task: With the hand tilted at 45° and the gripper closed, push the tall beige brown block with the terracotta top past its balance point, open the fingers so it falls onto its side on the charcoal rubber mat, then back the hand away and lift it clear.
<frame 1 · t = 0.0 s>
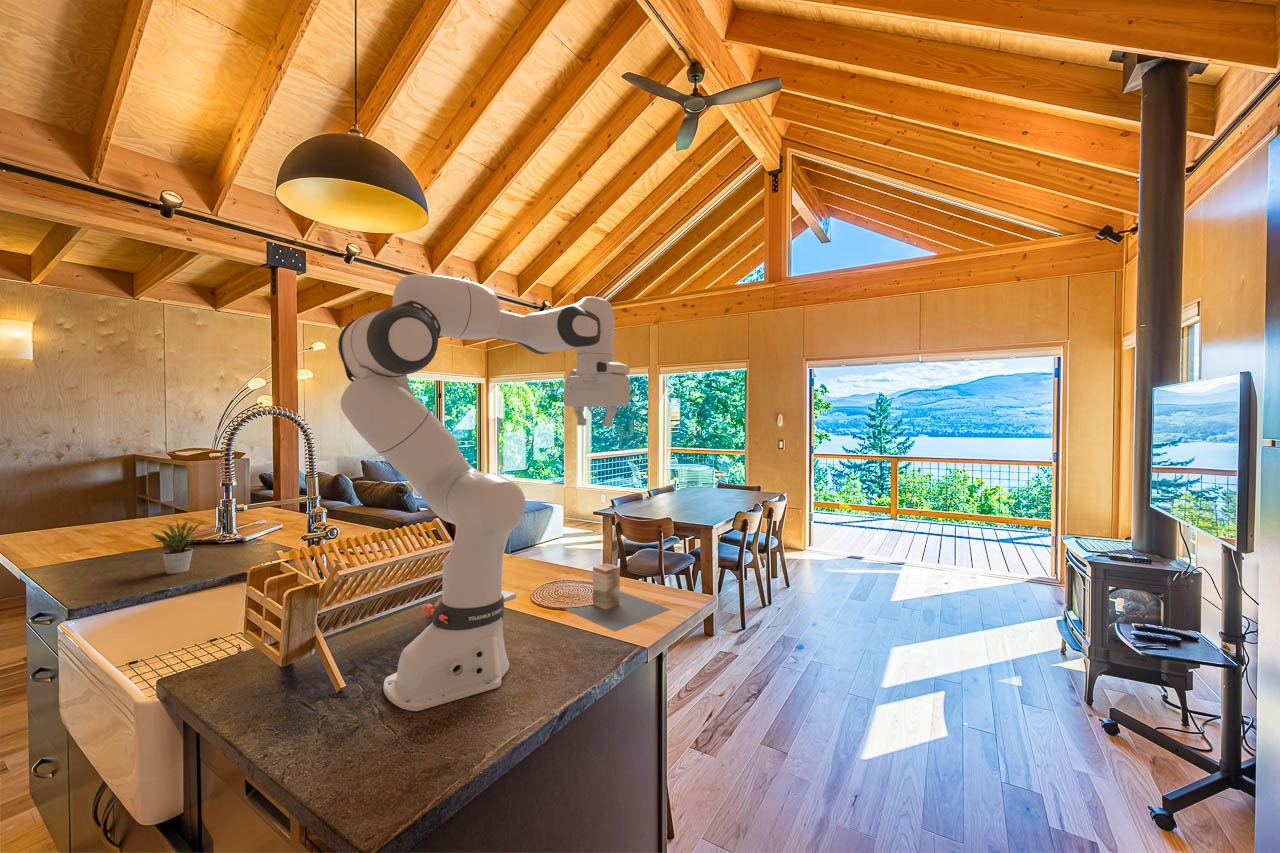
hand: (594, 426, 121), 48 cm above the worktop, tool pointing down, fingers open, 8 cm apart
house plant: (182, 570, 160), on the worktop
rubber mat: (617, 611, 132), on the worktop
beige brown block: (605, 604, 135), point 1 cm above the worktop, touching rubber mat
hard drive: (488, 603, 138), on the worktop
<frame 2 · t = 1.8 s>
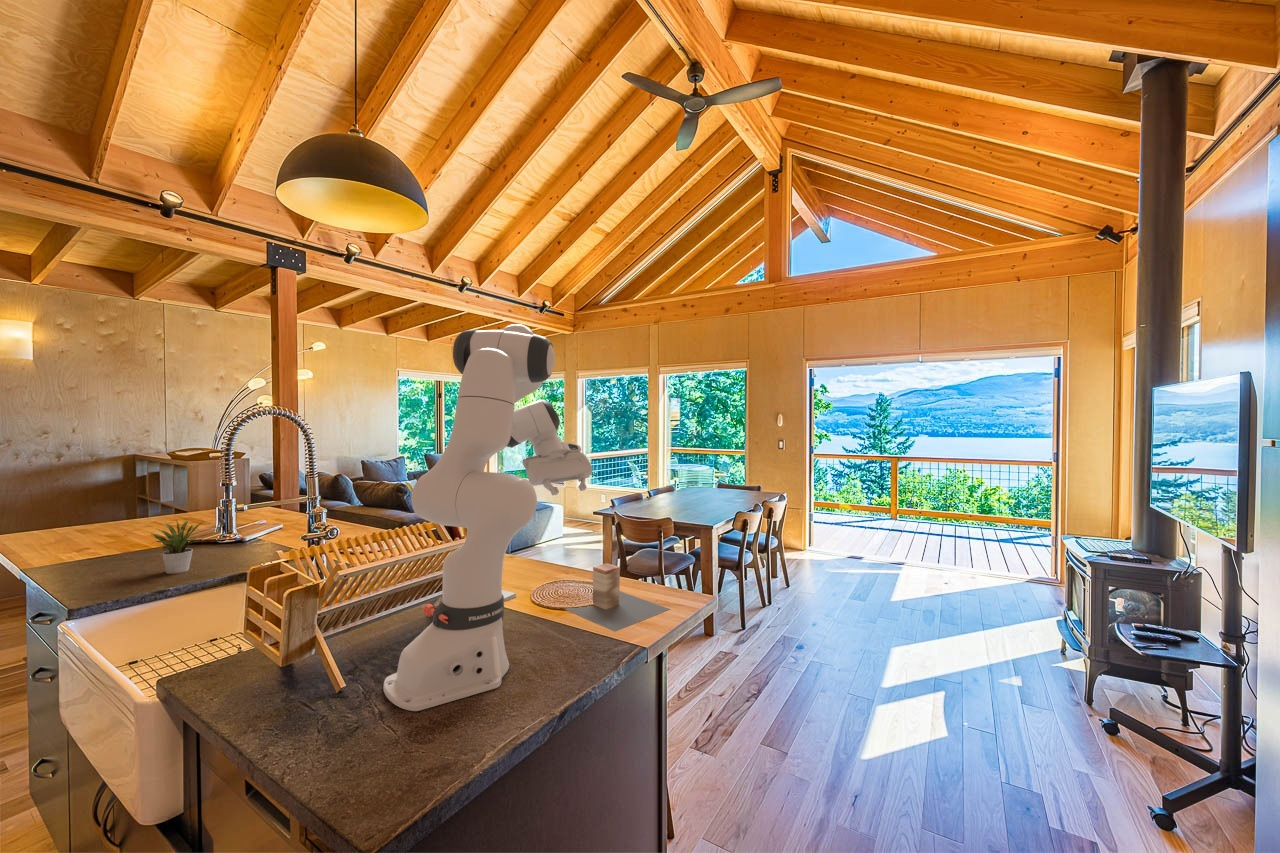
hand: (570, 491, 147), 29 cm above the worktop, tool tilted 45°, fingers open, 8 cm apart
nothing on the worktop moved.
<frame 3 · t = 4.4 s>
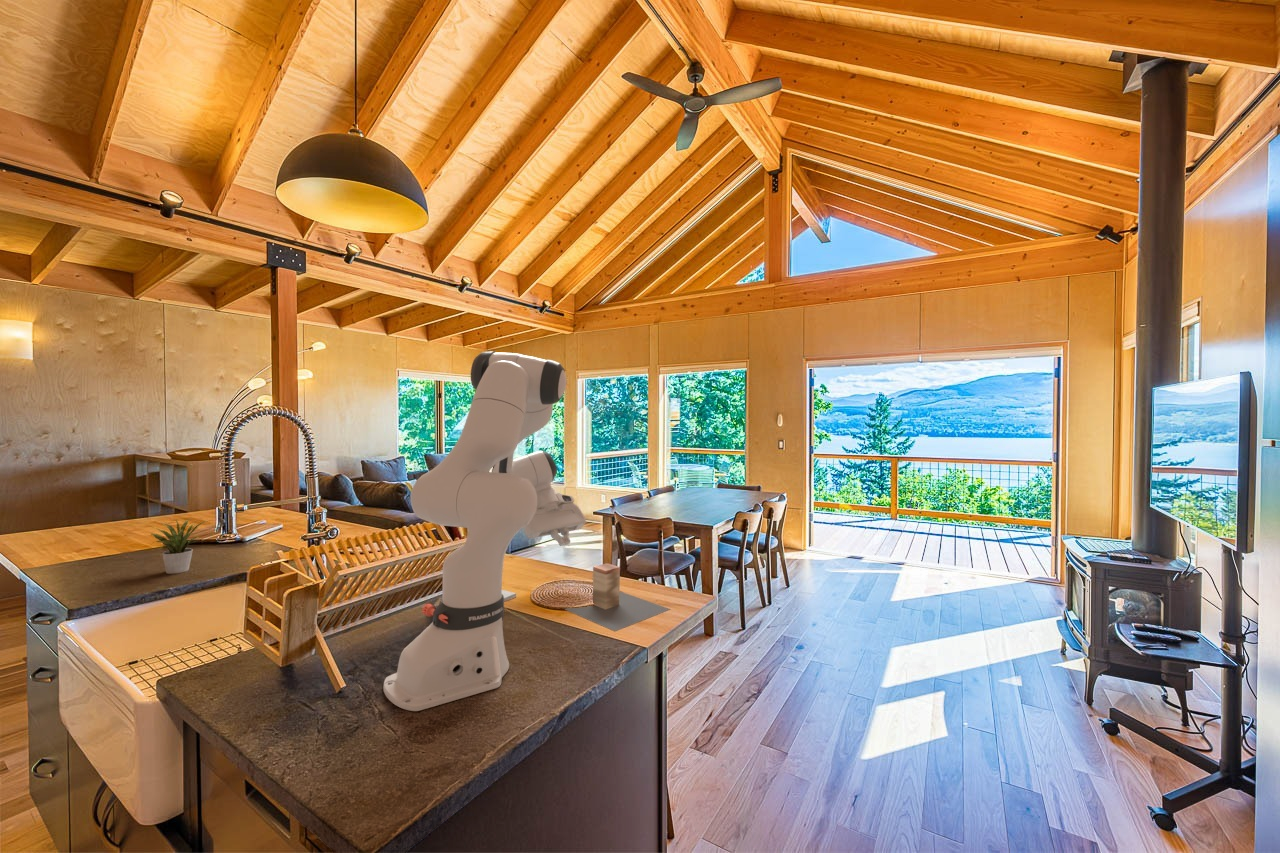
hand: (565, 544, 147), 14 cm above the worktop, tool tilted 45°, fingers closed
nothing on the worktop moved.
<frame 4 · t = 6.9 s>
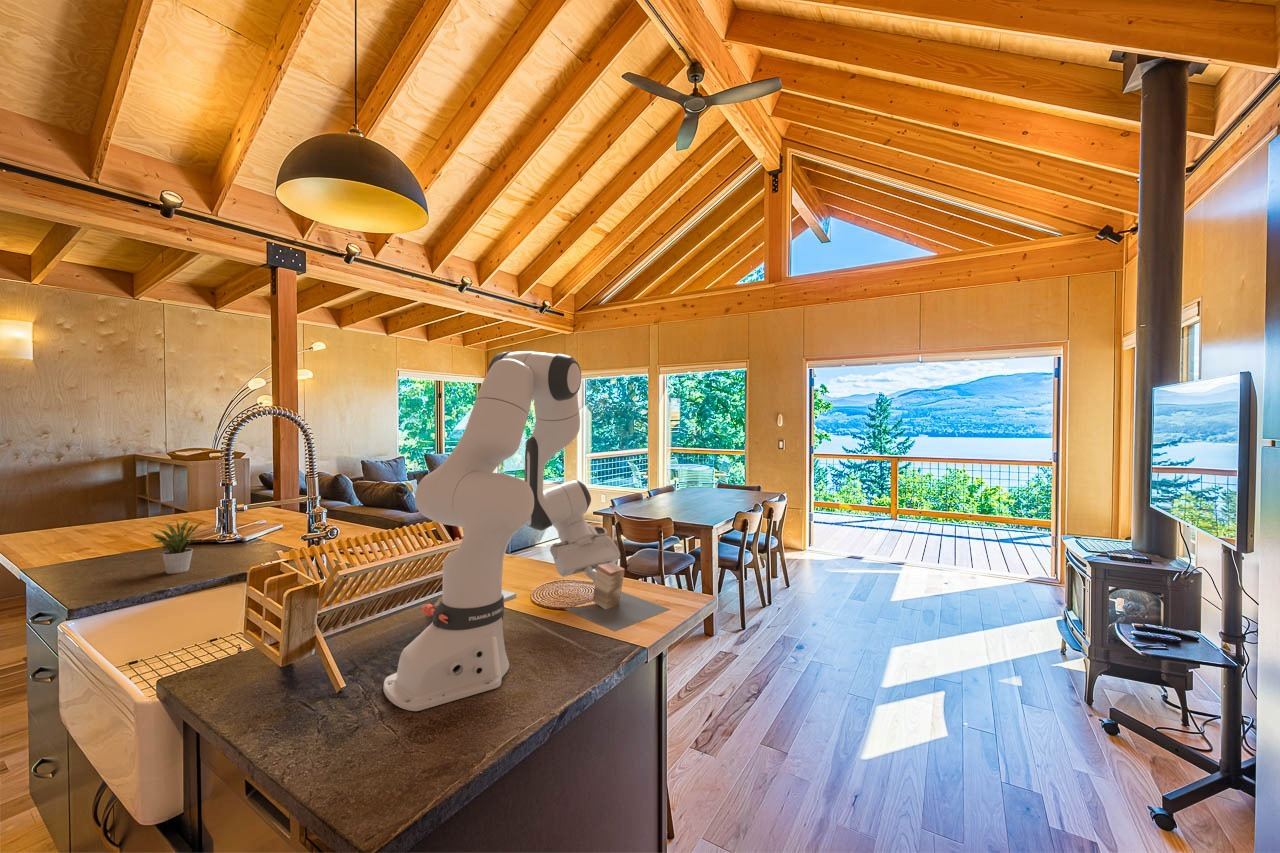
hand: (600, 581, 136), 6 cm above the worktop, tool tilted 45°, fingers closed, pressing on beige brown block
beige brown block: (606, 602, 135), point 1 cm above the worktop, tilted 10°, touching gripper, rubber mat
everything else where it was.
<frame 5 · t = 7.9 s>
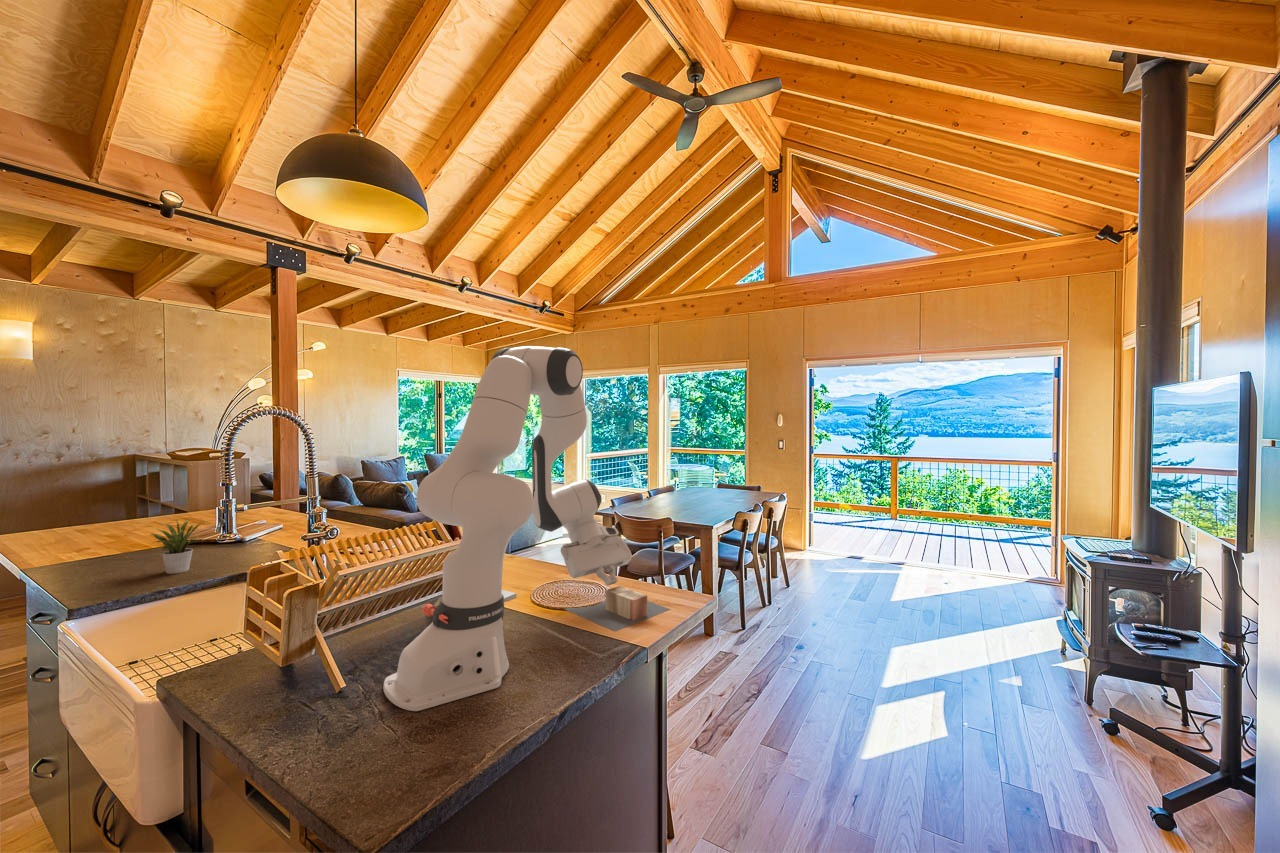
hand: (612, 583, 133), 7 cm above the worktop, tool tilted 45°, fingers closed
beige brown block: (612, 597, 133), point 3 cm above the worktop, tilted 90°, touching rubber mat
everything else where it was.
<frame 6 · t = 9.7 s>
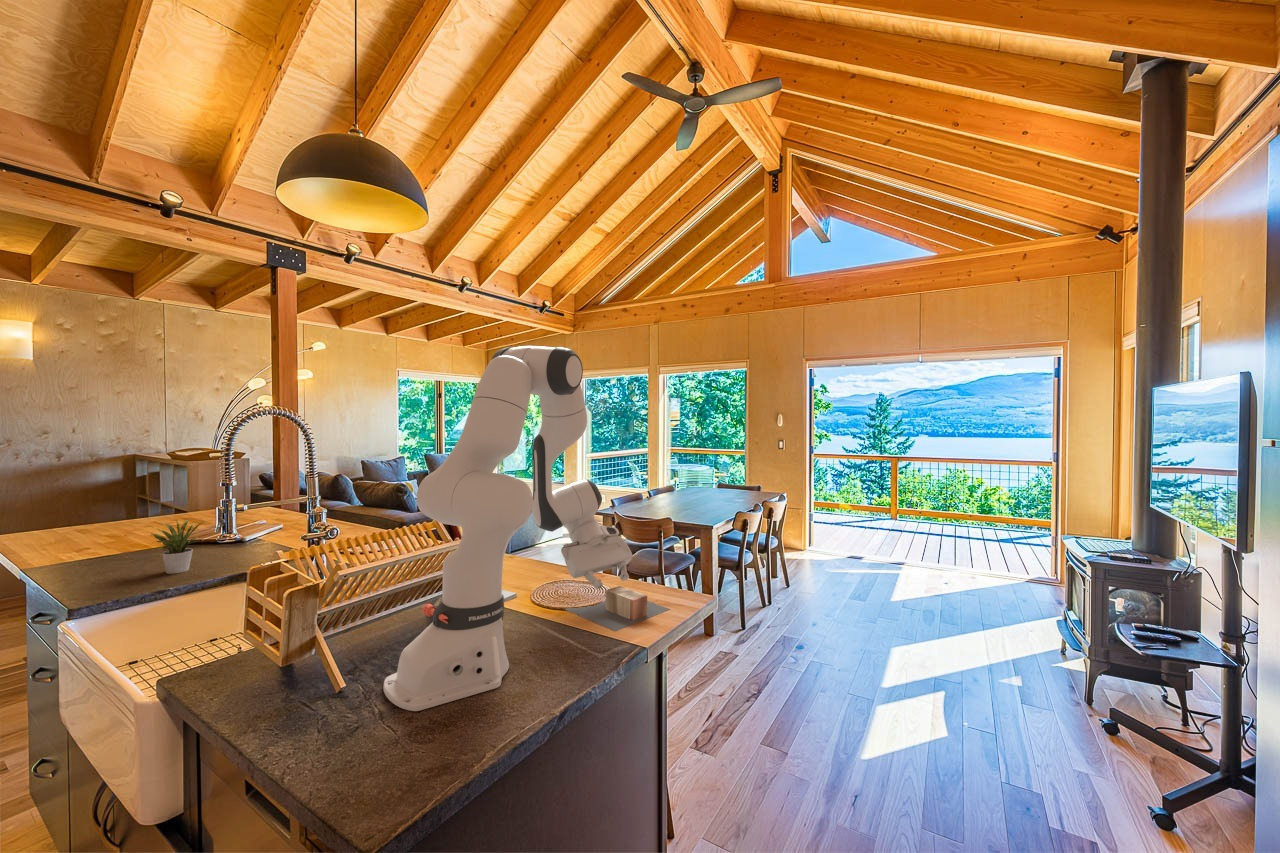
hand: (613, 583, 133), 7 cm above the worktop, tool tilted 45°, fingers open, 8 cm apart
nothing on the worktop moved.
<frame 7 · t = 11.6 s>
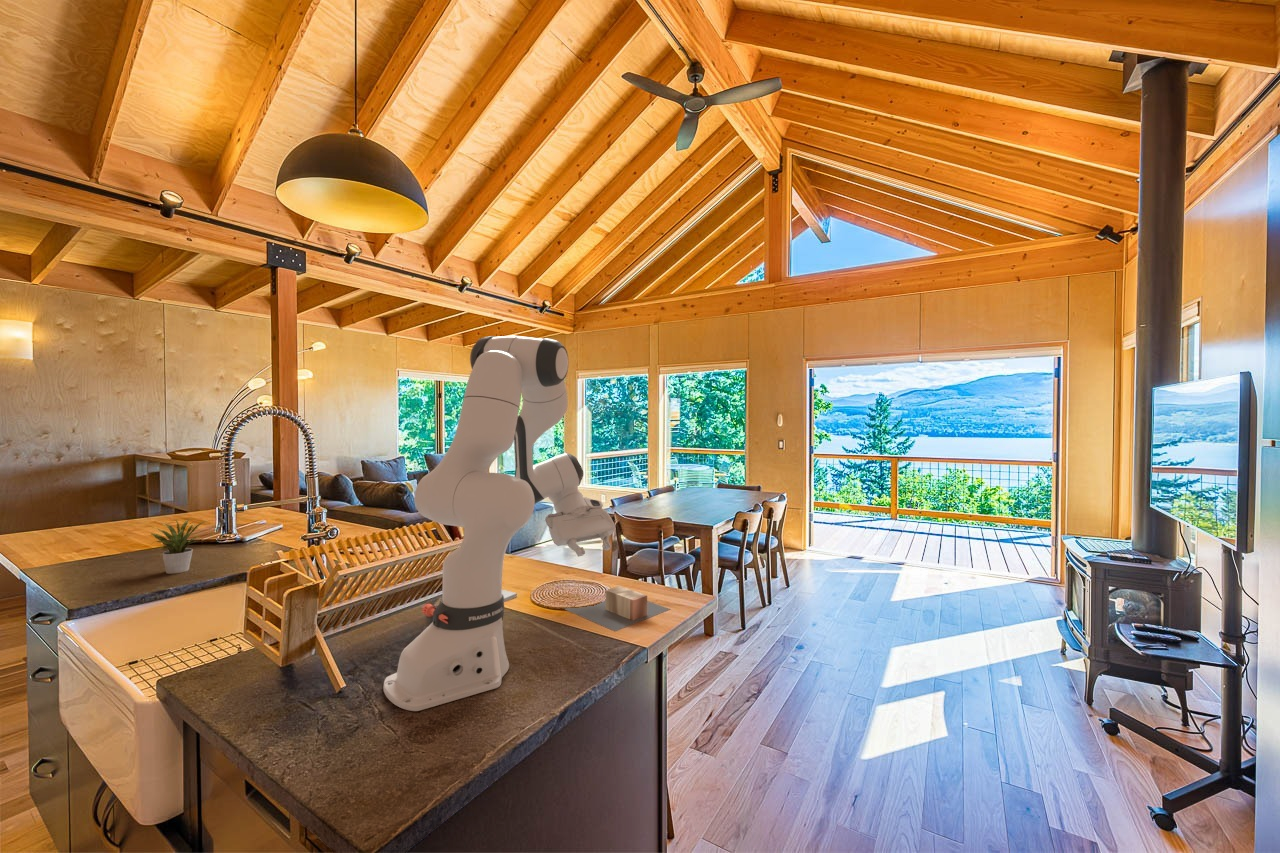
hand: (595, 551, 138), 14 cm above the worktop, tool tilted 45°, fingers open, 8 cm apart
nothing on the worktop moved.
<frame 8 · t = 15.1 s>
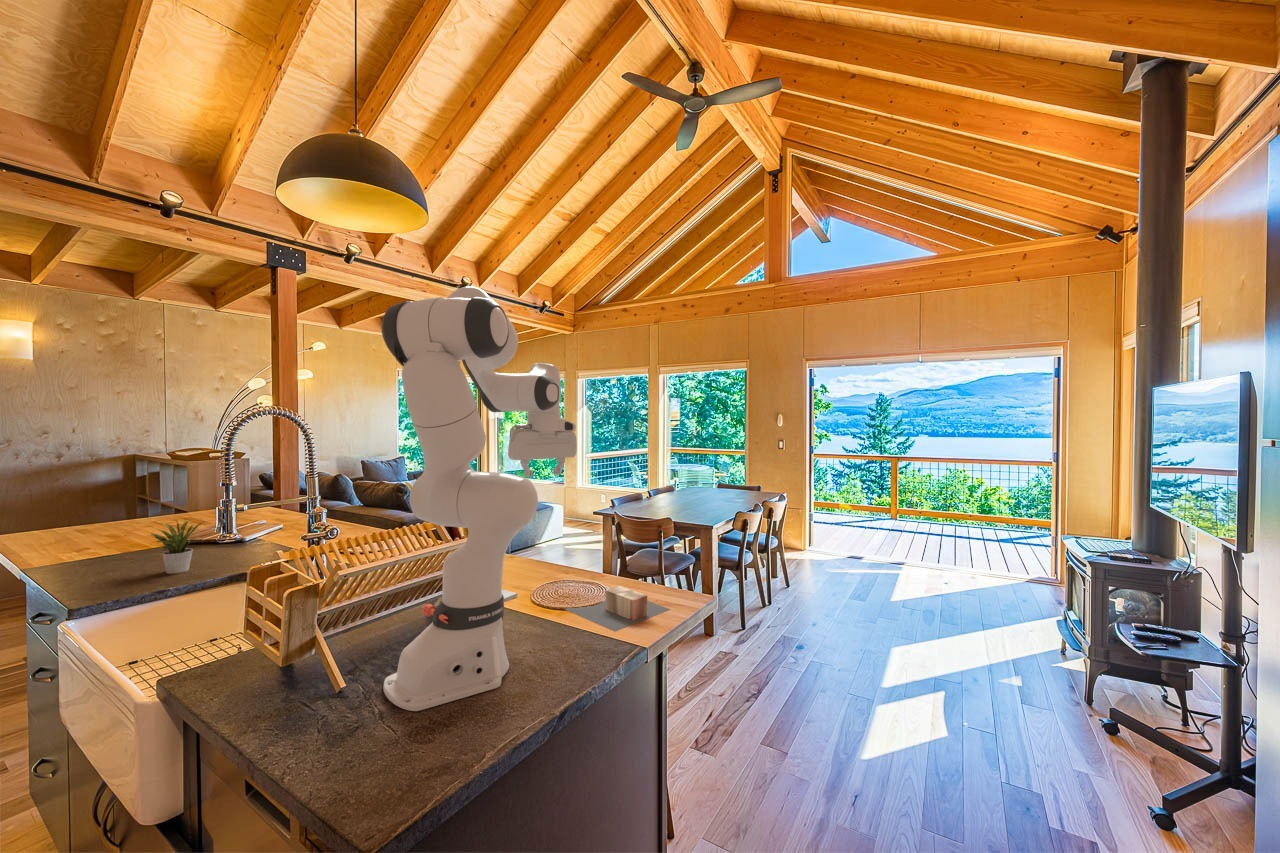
hand: (543, 475, 138), 34 cm above the worktop, tool pointing down, fingers open, 8 cm apart
nothing on the worktop moved.
at the end: beige brown block tilted 90°; beige brown block inside the target area on the rubber mat (1.5 cm from its centre), point 3.1 cm above the rubber mat's base; the gripper is holding nothing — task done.
